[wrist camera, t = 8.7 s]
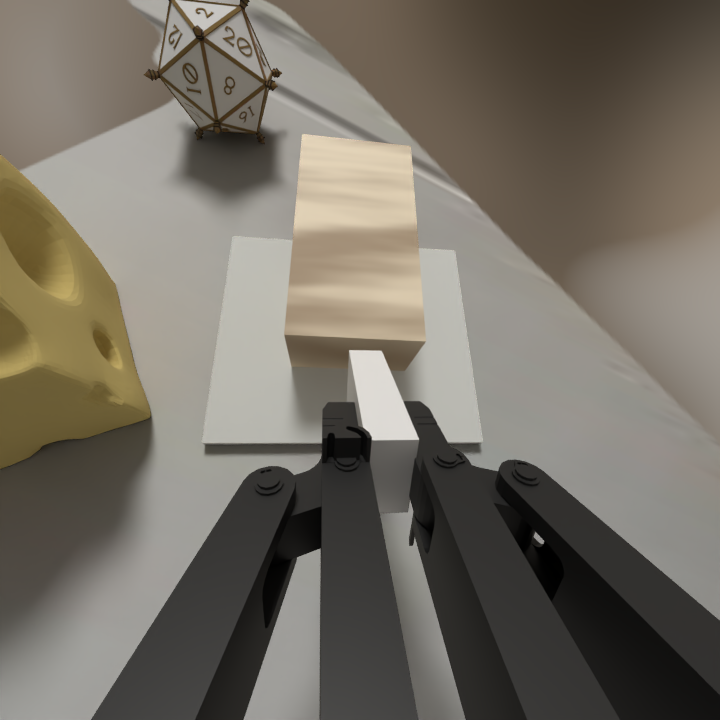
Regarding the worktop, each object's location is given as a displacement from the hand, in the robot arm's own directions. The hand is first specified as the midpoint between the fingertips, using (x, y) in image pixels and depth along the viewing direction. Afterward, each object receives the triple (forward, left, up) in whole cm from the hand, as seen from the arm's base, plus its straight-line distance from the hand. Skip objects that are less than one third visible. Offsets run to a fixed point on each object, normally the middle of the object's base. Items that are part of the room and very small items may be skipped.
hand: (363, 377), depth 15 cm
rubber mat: (-2, +4, -5) cm, 7 cm away
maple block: (-1, +2, -2) cm, 3 cm away
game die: (-17, +18, -6) cm, 26 cm away
